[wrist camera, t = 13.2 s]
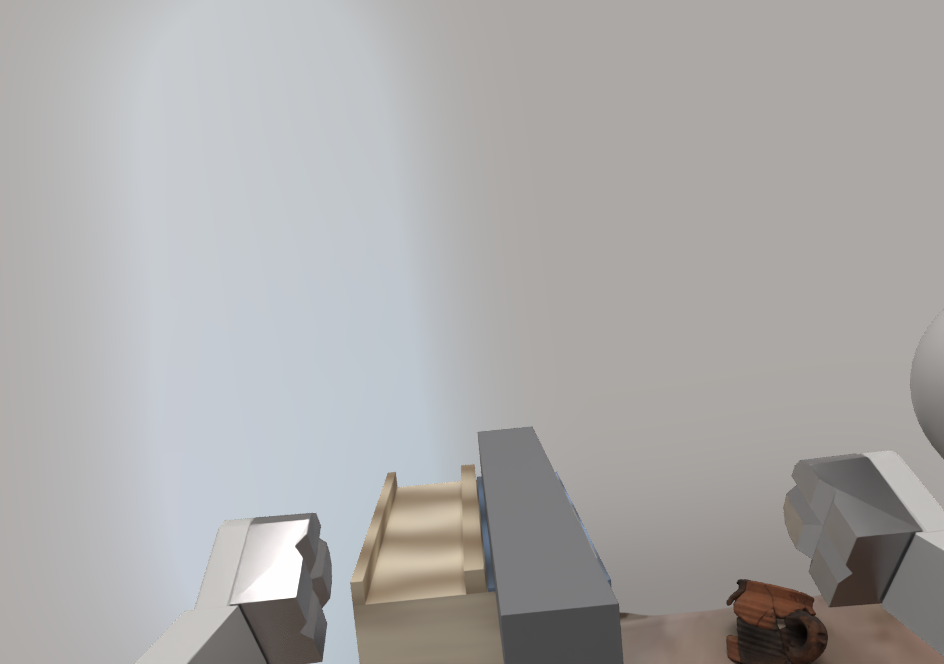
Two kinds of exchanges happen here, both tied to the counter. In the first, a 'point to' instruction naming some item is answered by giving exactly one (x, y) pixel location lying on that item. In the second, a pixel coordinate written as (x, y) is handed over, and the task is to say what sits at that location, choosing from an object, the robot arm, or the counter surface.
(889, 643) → the counter surface
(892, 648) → the counter surface
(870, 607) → the counter surface
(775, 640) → the pottery mug
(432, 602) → the duct stand
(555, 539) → the dark gray block
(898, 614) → the robot arm
